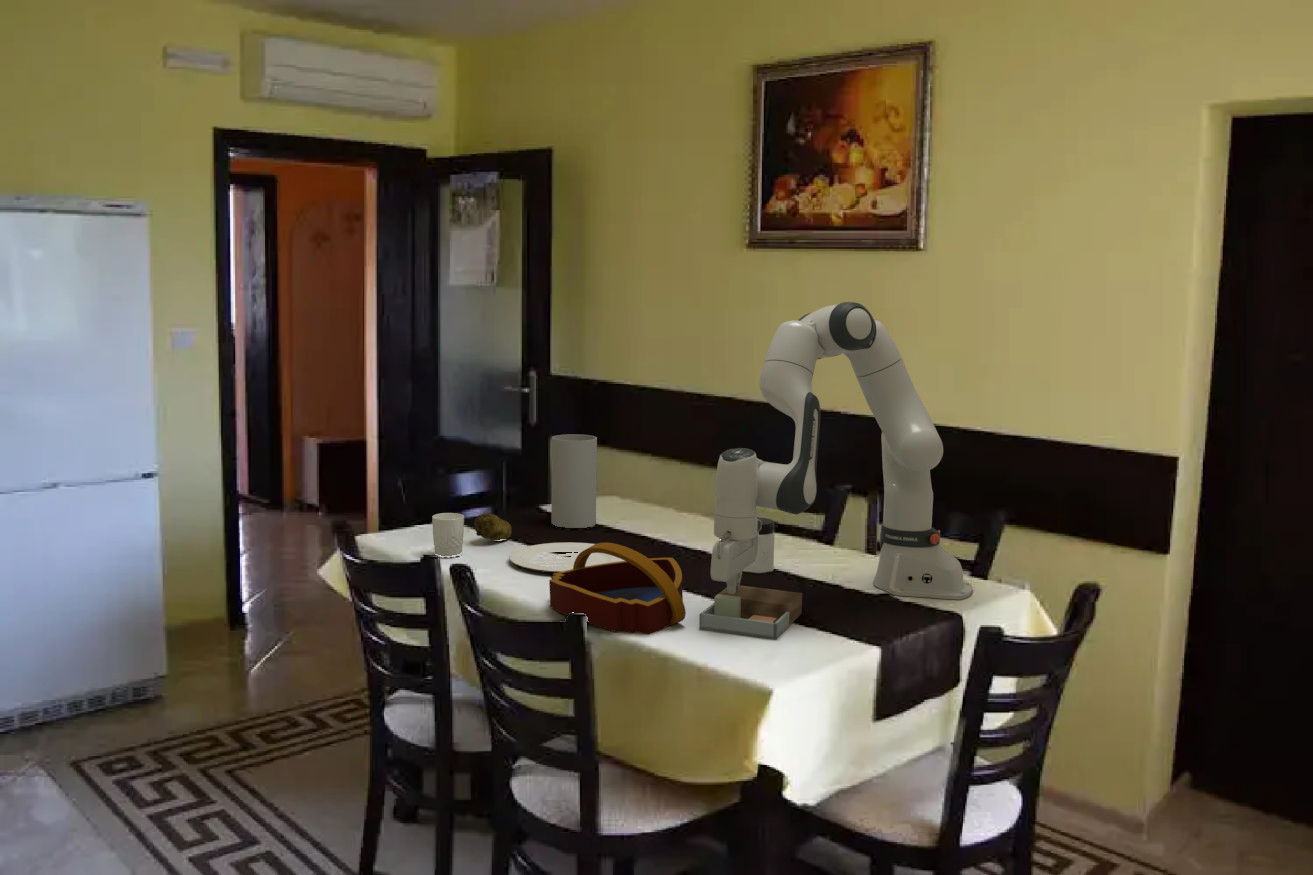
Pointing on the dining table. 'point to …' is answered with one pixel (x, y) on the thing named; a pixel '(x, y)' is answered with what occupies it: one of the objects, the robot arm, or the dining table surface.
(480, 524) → the potato
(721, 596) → the sage tile
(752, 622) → the tray
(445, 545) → the white cup
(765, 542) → the jar
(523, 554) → the plate
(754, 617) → the terracotta tile
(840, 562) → the dining table surface
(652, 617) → the decorative basket
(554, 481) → the cylinder vase
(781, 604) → the walnut block
